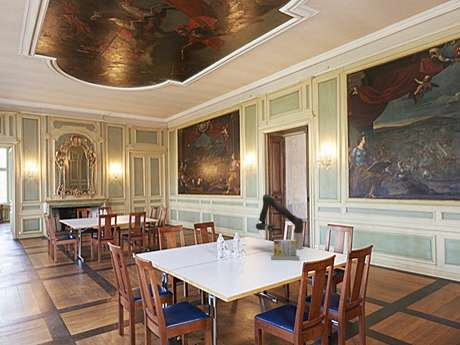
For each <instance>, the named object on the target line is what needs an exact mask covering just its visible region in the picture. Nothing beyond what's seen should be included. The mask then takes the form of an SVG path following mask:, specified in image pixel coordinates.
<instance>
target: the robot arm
mask: <svg viewBox="0 0 460 345" xmlns="http://www.w3.org/2000/svg"><path fill="white" fill-rule="evenodd" d="M270 206H271V207H272V209H273V210H275V212H277V213H278V214H279V215H281V216H282V217H283V218H285V219H287V220H289V221H290V222H291V223H292V224H293V225H294V229H293V240H296V250H303V249H304V241H303V239H304V237H303V236H304V235H303V234H304V233H303V230H304V221H303V219H302V218H301V217H298V216H296V215H294V214H293V213H292V212H291V211H290V210H289V209H288V208H287V207H286V206H284V205H283V204H281V203H280V202H278V201H277V200H276V199H274V198H273V197H272V196H271V195H270V194H263V196H262V209H261V211H260V214H259V218H258V220H259V222H260V223H259V222H258V223H256V224H255V229H257V231H265V232H271V233H274V232H276V231H277V232H282V231H283V228H281V227H280V226H275V224H272V223H270V224H269V223H266V220H267V216H268V211H269V208H270Z"/></svg>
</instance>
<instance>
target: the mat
mask: <svg viewBox="0 0 460 345" xmlns="http://www.w3.org/2000/svg"><path fill="white" fill-rule="evenodd" d="M270 261H301V258H300V256H299V255H298V256H297V255H296V256H274V255H271V258H270Z"/></svg>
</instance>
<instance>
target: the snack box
mask: <svg viewBox="0 0 460 345" xmlns="http://www.w3.org/2000/svg"><path fill="white" fill-rule="evenodd" d="M273 256H297V249H296V240H294V239H273Z"/></svg>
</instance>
